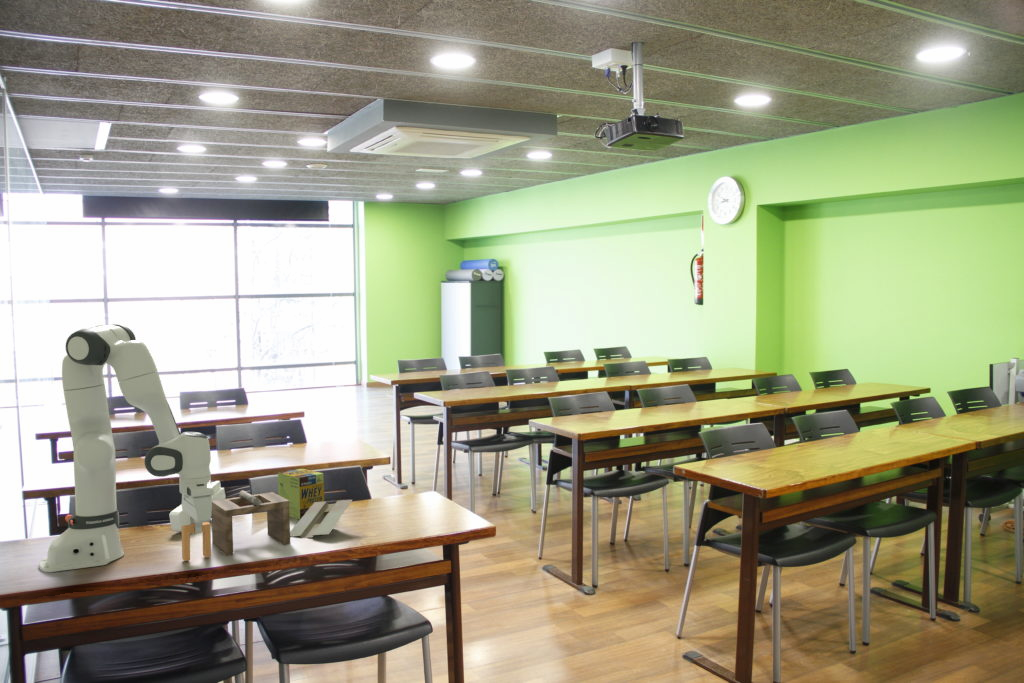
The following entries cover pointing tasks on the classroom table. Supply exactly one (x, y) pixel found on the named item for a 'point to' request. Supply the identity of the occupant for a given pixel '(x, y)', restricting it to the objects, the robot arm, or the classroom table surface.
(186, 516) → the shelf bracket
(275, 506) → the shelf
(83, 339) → the robot arm
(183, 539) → the orange u-frame
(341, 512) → the slanted grey stand
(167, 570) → the classroom table surface
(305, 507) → the protein box
